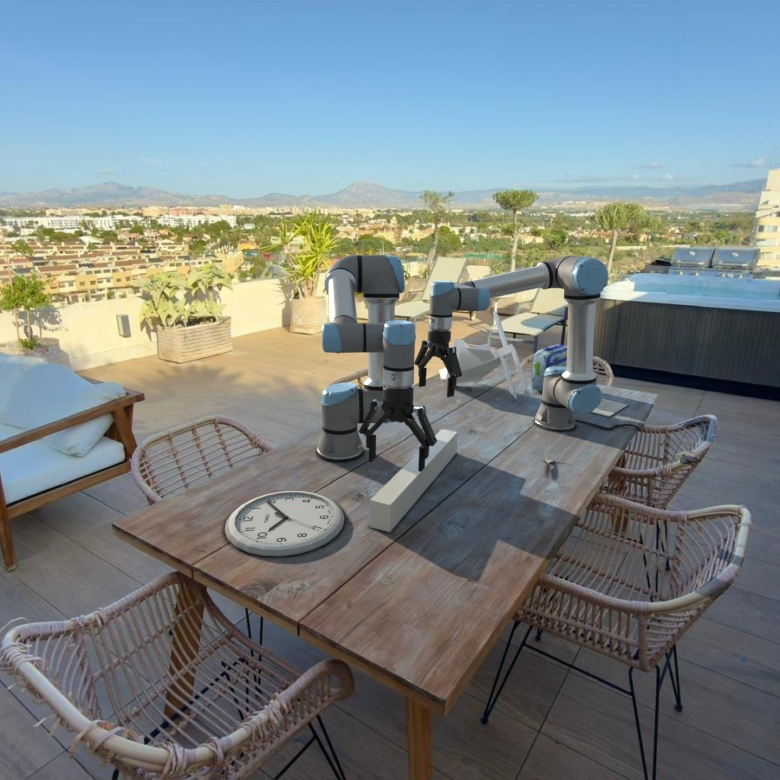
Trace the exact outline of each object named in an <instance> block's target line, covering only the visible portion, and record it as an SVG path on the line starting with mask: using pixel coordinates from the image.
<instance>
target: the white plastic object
mask: <svg viewBox="0 0 780 780" xmlns="http://www.w3.org/2000/svg"><path fill="white" fill-rule="evenodd" d="M492 315H493V319H494V321H495V324H496V325H495V326H496V328H497V332H498V335H499V338H500V342H501V345H502V347H500V348H498V349H496V350H495V349H493V348H492V347H491V346H490V344H489V343H488V342H487V343H483V344H479V345H473V346H469V345H468V343H466V342H465V340H464V339H463V338H460V339H458V338H454V340H453V344H452V347H456V352H457V357H458V361H459V365H460V368H461V372H462V376H461V377H457V382H456V385H458V384H467V383H468V384H469V383H473V384H477V383H480V382H482V381H484V378H485V377H486V376H487V375H489V374H490V373H492V372H494V371H495V370H496V369H497V368H499V367H500V366H502V370H503V373H504V376H505V380H506V383H507V386H508V390H509V393H510V394H511V395H512V397H513V398H514V399H515V400H517V392H516V391H517V390H516V388H515V385H514V381H513V378H512V375H511V371H510V369H509V365H508V361H510V360H513V363H514V366H515V369H516V372H517V376H518V380H519V382H520V385H521V389H522V391H523V393H524V395H525V396H526V397H528V396H531V395H530V390H529V388H528V387H529V386H528V384H527V381H526V378H525V375H524V371H523V369H522V368H523V367H522V366H521V362H520V359H519V355H518V352H517V349H516V347H515V346H514V345H513V343H511V344H508V341H507V337H506V334H505V331H504V328H503V325H502V321H501V318H500V315H499V314H498V312H497V311H496V310H495V311H492ZM438 372H439V376H440V381H442V383H443V384H444V385H445V386H448V378H449V377H450V376H449V373H448V371H447V369H446V367H444V368H442V369H440V370H439V371H438Z"/></svg>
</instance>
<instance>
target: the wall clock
mask: <svg viewBox="0 0 780 780" xmlns="http://www.w3.org/2000/svg"><path fill="white" fill-rule="evenodd" d="M344 515H345V514H344V511H343V509H342V508H341V507H340V505H338V503H336V502H335V501H334V500H333V499H332V500H331V499H330V498H329V497H327V496H324V495H322V494H318V493H316V492H311V491H310V492H309V491H305V490H304V491H303V490H284V491H276V492H272V493H267V494H264V495H260V496H257V497H255V498H252V499H250V500H248V501H246V502H245V503H243V504H241V505H240V506H238V508H236V509H235V510H233V511H232V512H231V513H230V515H229V517H228V518H227V520H226V521H225V527H224V532H225V536H226V538H227V540H228V541H229V542H230V544H231V545H233V546H234V547H235V548H237V549H240V550H241V551H244V552H245V553H248V554H252V555H256V556H262V557H287V556H294V555H296V556H297V555H299V554H304V553H307V552H311V551H313V550H316V549H318V548H320V547H322V546H324V545H327V544H328V543H329V542H331V541H332V540H333V539H335V538H336V537H337V536H338V534H339V533H340V532H341V530H342V529H343V527H344V522H345V516H344Z"/></svg>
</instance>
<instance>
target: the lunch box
mask: <svg viewBox="0 0 780 780" xmlns="http://www.w3.org/2000/svg"><path fill="white" fill-rule="evenodd" d="M558 366H560V367H567V345H565V344H554V345H550V346H547V347H544V348H542V349H541V348H540V349H539V350H537V351H536V352H535V353H534V356H533V360H532V367H531V368H532V369H531V382H530V383H531V386H530V387H531V389H532V390H533V391H537V392H542V391H543V382H544V373H545V370H546V369H547V368H548V367H558Z"/></svg>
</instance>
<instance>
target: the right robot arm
mask: <svg viewBox="0 0 780 780" xmlns="http://www.w3.org/2000/svg"><path fill="white" fill-rule="evenodd" d="M608 282H609V271H608V268H607V267H606V265H605V264H604V262H602V261H601V260H599V259H597V258H594V257H592V256H581V255H565V256H560V257H557V258H553V259H549V260H545V261H540V262H539V263H537V264H536V266H531V267H527V268H523V269H518V270H513V271H508V272H503V273H500V274H495V275H491V276H486V277H481V278H477V279H471V280H467V281H463V282H459V281H455V282H454V281H452V280H441V279H440V280H439V279H437V280H433V281H432V282H431V284H430V285H431V286H430V291H429V310H428V311H429V312H428V328H429V329H428V330H427V339H424V340H422V341H421V346H420V349H419V351H418V353H417V355H416V358H415V359H414V366H417V368H418V370H417V371H418V373H417V375H418V387H419V388H424V387H426V386H427V371H428V368H427V365H428V363H430V361H431V360H432V359H433V358H437V359H440V360H441V361H442V363H443V365H444V368H446V369H447V371H448V373H449V376H450V377H449V378H448V385H446V386H447V388H446V389H447V390H446V398H451V397H454V396H455V389H456V388H457V384H456V382H457V377H461V376H462V372H461V368H460V365H459V361H458V357H457V352H456V347H453V346H450V342H451V340H452V327H453V312H477V313H478V312H485V311H487V310H488V309H489V307H490V304H491V299H495V298H500V297H503V296H509V295H513V294H517V293H521V292H527V291H531V290H535V289H541V290H544V291H545V290H549V289H562V290H563V299H564V300H565V302H567V304H568V306H567V308H568V309H567V340H566V343H567V344H566V346H567V367H560V366H558V367H548V368H547V369H546V370H545V373H544V382H543V391H541V393H542V394H541V402H540V405H539V407H538V410H537V411H536V413H535V417H534V424H535V425H536V426H537V427H539V428H542V429H544V430H549V431H556V432H567V431H572V430H574V429H575V428H576V423H577V424H584V425H588V426H592V427H596V428H599V429H602V430H606V431H607V430H608V431H612V430H614V429H615V428H620V427H631V428H634V429H636V430H638V431H642V429H641V427H639V426H638V425H636V424H632V423H617V424H613V425H612V426H604V425H601V424H597V423H593V422H589V421H584V420H580V419H576V418H575V417H576V416H575V414H578V415H587V414H590V413H592V411H594V410H595V408H596V407H598V406H599V404H600V402H601V400H602V399H603V393H602V390H601V388H600V387H599V386H598V385H597V378H598V377H597V373H595V372H594V370H593V365H594V364H593V361H594V341H595V340H594V339H595V318H596V316H595V315H596V302H598V301H599V300H600V299H601V295H602V294H601V293H602V292H603V291H604V288H606V287H607V285H608Z"/></svg>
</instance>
